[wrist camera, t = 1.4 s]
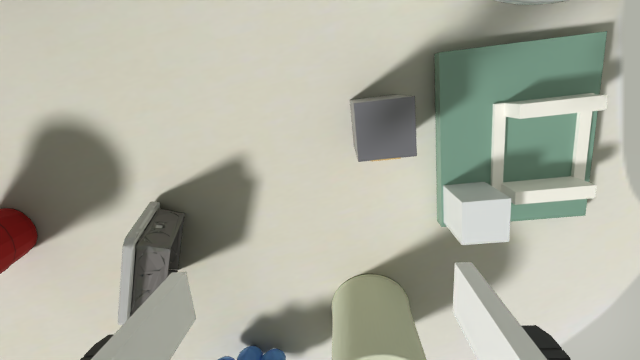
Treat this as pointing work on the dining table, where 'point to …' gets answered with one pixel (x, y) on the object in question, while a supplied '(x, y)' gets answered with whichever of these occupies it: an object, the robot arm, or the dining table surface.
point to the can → (373, 321)
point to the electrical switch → (148, 256)
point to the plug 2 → (476, 213)
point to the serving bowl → (530, 1)
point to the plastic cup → (15, 236)
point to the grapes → (257, 354)
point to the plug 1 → (384, 127)
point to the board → (521, 122)
